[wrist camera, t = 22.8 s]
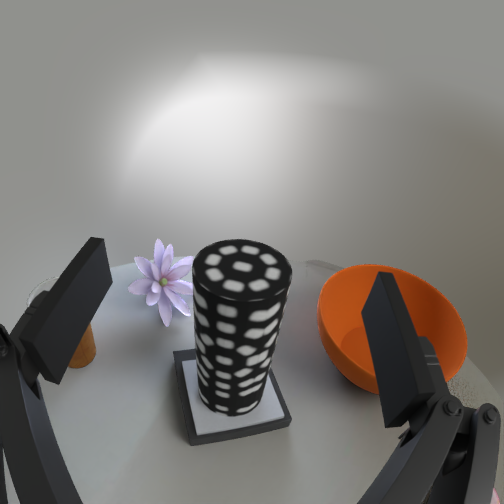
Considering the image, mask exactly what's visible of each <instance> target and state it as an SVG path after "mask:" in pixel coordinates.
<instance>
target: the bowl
mask: <svg viewBox="0 0 504 504" xmlns="http://www.w3.org/2000/svg"><path fill="white" fill-rule="evenodd" d="M378 271H381V272H390V273H393V275H394V278H395V280H396V282H397V285H398V287H399V289H400V292H401V294H402V297H403V299H404V301H405V304H406V306H407V309H408V311H409V314H410V317H411V319H412V322H413V324H414V327H415V330H416V332H417V335H418V336H424V337H427V338H428V340H429V341H430V342H431V343H432V345H433V347H434V349H435V352H436V355H437V356H436V357H438V360H439V363H440V364H439V365H440V366H441V369H442V371H443V374H444V377H445V380H446V382H447V381H449V380H450V379H451V378H452V377H453V376H454V375H455V374H456V373H457V372H458V371H459V369H460V368H461V366H462V364H463V362H464V360H465V357H466V352H467V336H466V331H465V327H464V325H463V322H462V320H461V318H460V316H459V314H458V313H457V311H456V309H455V308H454V307H453V305H452V304H451V303H450V302H449V300H447V298H446V297H445V296H444V295H443V294H442V293H440V292H439V291H438V290H437V289H436V288H434V287H433V286H431V285H430V284H429V283H427V282H426V281H424V280H422V279H420V278H419V277H417V276H415V275H412V274H410V273H408V272H406V271H403V270H400V269H397V268H393V267H389V266H383V265H371V264H364V265H356V266H351V267H348V268H345V269H343V270H341V271H339V272H337V273H335V274H334V275H333V276H331V277H330V278H329V279H328V280H327V282H326V283H325V284H324V286H323V288H322V290H321V292H320V295H319V299H318V305H317V322H318V329H319V334H320V337H321V340H322V343H323V346H324V348H325V350H326V352H327V354H328V356H329V358H330V359H331V361H332V362H333V364H334V365H335V366H336V367H337V369H338V370H339V371H340V372H341V373H342V374H343V375H344V376H345V377H346V378H347V379H349V380H350V381H351V382H352V383H354V384H355V385H357V386H359V387H360V388H362V389H364V390H367V391H369V392H372V393H374V394H378V395H379V390H378V385H377V380H376V376H375V371H374V366H373V362H372V357H371V353H370V348H369V344H368V340H367V335H366V331H365V327H364V323H363V319H362V315H361V311H362V309H363V307H364V304H365V302H366V300H367V298H368V295H369V293H370V291H371V288H372V286H373V283H374V281H375V279H376V276H377V274H378Z"/></svg>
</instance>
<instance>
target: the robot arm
mask: <svg viewBox="0 0 504 504" xmlns="http://www.w3.org/2000/svg"><path fill="white" fill-rule="evenodd" d="M112 283H113V281H112V277H111V272H110V268H109V263H108V258H107V253H106V248H105V242H104V239H102V238H94V237H90V239H89V240H88V241H87V242H86V244H85V245H84V246H83V247H82V248H81V250H80V251H79V252H78V253H77V255H76V256H75V257H74V259H73V260H72V261H71V263H70V264H69V265H68V266H67V268H66V269H65V270H64V272H63V273H62V274H61V276H60V277H59V278H58V280H57V281H56V282H55V284H54V285H53V286H52V288H51V289H50V291H46V290H43V291H42V292H41V293H39V294H38V295H37V296H36V297H35V298H34V299H33V301H32V302H31V303H30V305H29V307H28V308H27V309H26V311H25V313H24V314H23V315H22V316H21V318H20V319H19V321H18V323H17V324H16V325H15V327H14V328H13V330H12V332H11V333H10V335H9V334H8V332H7V330H6V329H5V327H4V326H3V325H2V324H0V504H8V500H7V493H6V484H5V474H4V462H3V449H4V453H5V457H6V461H7V464H8V468H9V471H10V475H11V478H12V481H13V484H14V487H15V490H16V493H17V496H18V499H19V501H20V504H83V503H82V501H81V499H80V497H79V494H78V492H77V490H76V488H75V486H74V484H73V481H72V479H71V477H70V474H69V472H68V470H67V467H66V465H65V462H64V460H63V457H62V454H61V452H60V449H59V446H58V444H57V441H56V438H55V435H54V432H53V429H52V426H51V423H50V420H49V416H48V413H47V409H46V406H45V402H44V399H43V395H42V391H41V387H40V383H39V381H38V379H37V376H38V374H39V372H40V373H41V374H42V376H43V377H44V379H45V380H47V381H50V382H53V383H55V384H58V385H59V384H60V382H61V380H62V378H63V375H64V373H65V371H66V369H67V367H68V365H69V363H70V361H71V359H72V357H73V355H74V353H75V351H76V349H77V347H78V345H79V343H80V341H81V339H82V337H83V335H84V333H85V331H86V329H87V328H88V326H89V324H90V322H91V320H92V318H93V316H94V315H95V313H96V311H97V309H98V307H99V305H100V304H101V302H102V300H103V298H104V297H105V295H106V293H107V291H108V290H109V288H110V286H111V284H112ZM361 315H362V319H363V323H364V327H365V331H366V335H367V340H368V344H369V348H370V353H371V357H372V362H373V366H374V371H375V376H376V380H377V385H378V390H379V396H380V401H381V406H382V412H383V417H384V423H385V428H390V427H401V426H402V425H403V424H405V423H406V422H407V421H408V420H409V425H410V427H409V428H408V429H407V430H406V431H405V432H403V433H402V434H401V435H400V436H399V437H398V438H399V439H401V438H402V439H401V441H400V442H399V444H398V446H397V447H396V449H395V450H394V452H393V454H392V455H391V457H390V458H389V460H388V461H387V463H386V464H385V466H384V467H383V469H382V470H381V472H380V473H379V475H378V476H377V477H376V479H375V480H374V482H373V483H372V484H371V486H370V487H369V489H368V490H367V491H366V493H365V494H364V495H363V496H362V498H361V499H360V500H359V502H358V503H357V504H422V502H423V501H424V499H425V497H426V495H427V494H428V492H429V490H430V488H431V486H432V484H433V487H432V490H431V494H430V497H429V500H428V504H491V499H492V494H493V488H494V482H495V476H496V469H497V461H498V451H499V440H500V424H501V419H500V414H499V411H498V410H497V408H496V407H495V406H494V405H492V404H489V403H486V404H483V405H482V406H481V407H479V408H478V409H473V408H469V407H464V406H463V405H462V403H461V402H460V400H459V399H458V398H457V397H455V396H453V395H450V392H449V390H448V386H447V383H446V380H445V377H444V374H443V371H442V369H441V366H440V365H439V364H440V363H439V360H438V357H436V356H437V355H436V352H435V349H434V347H433V345H432V343H431V342H430V341H429V340H428V338H427V337H424V336H418V335H417V332H416V330H415V327H414V324H413V322H412V319H411V317H410V314H409V311H408V309H407V306H406V304H405V301H404V299H403V297H402V294H401V292H400V289H399V287H398V285H397V282H396V280H395V278H394V275H393V273H390V272H381V271H378V274H377V276H376V279H375V281H374V283H373V286H372V288H371V291H370V293H369V295H368V298H367V300H366V302H365V304H364V307H363V309H362V311H361Z"/></svg>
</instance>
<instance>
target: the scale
mask: <svg viewBox="0 0 504 504" xmlns="http://www.w3.org/2000/svg"><path fill="white" fill-rule="evenodd" d="M173 354H174V361H175V367H176V373H177V379H178V385H179V390H180V395H181V401H182V406H183V411H184V416H185V421H186V426H187V430H188V435H189V440H190V444H191V446H194V445H201V444H208V443H214V442H220V441H225V440H231V439H236V438H241V437H246V436H251V435H255V434H260V433H264V432H268V431H272V430H276V429H280V428H284V427H288V426H289V424H290V422H291V420H292V418H291V416H290V413H289V411H288V408H287V406H286V404H285V401H284V399H283V396H282V394H281V391H280V389H279V386H278V384H277V382H276V379H275V377H274V374H273V372H272V369H271V367H270V370H269V374H268V378H267V381H266V385H265V389H264V393H263V396H262V399H261V401H260V403H259V404H258V406H257V407H256V408H255V409H254V410H253V411H251V412H249V413H247V414H245V415H242V416H236V417H227V416H222V415H219V414H217V413H215V412H213V411H211V410H210V409H209V408H207V407H206V406H205V404H204V403H203V402H202V400H201V398H200V396H199V390H198V377H197V363H196V349H190V350H182V351H173Z"/></svg>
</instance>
